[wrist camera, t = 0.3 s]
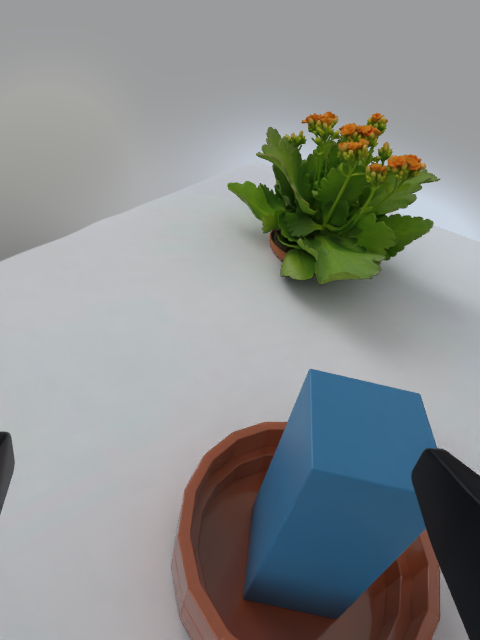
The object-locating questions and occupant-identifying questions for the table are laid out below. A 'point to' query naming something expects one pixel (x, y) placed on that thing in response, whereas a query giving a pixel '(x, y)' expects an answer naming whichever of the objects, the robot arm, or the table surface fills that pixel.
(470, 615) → the robot arm
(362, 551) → the blue rectangular block
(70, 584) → the table surface
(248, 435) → the terracotta bowl
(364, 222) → the potted flower
